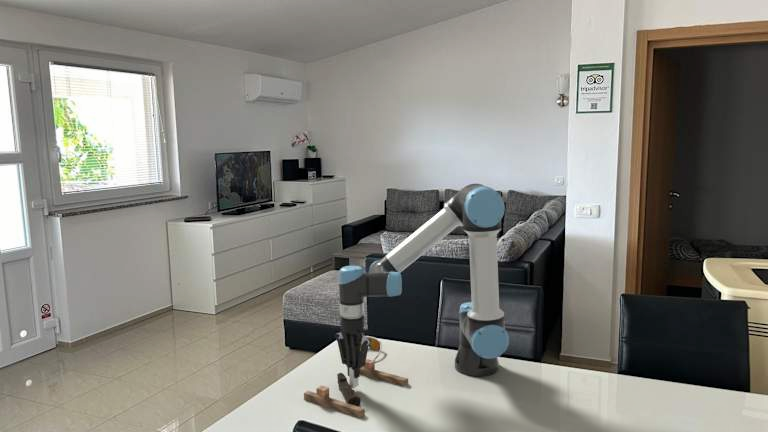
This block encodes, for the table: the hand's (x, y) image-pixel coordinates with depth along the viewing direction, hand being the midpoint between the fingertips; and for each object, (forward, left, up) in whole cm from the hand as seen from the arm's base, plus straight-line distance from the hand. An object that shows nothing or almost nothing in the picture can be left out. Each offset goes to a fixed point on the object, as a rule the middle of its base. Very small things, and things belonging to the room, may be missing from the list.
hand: (354, 386), depth 183 cm
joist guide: (-1, 0, -2) cm, 2 cm away
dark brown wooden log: (0, +4, -2) cm, 5 cm away
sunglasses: (+15, -25, -2) cm, 30 cm away
